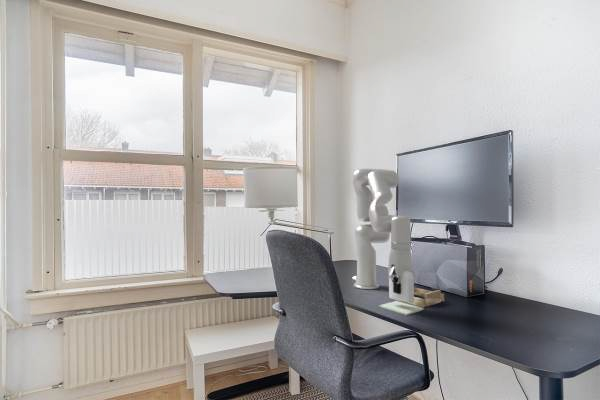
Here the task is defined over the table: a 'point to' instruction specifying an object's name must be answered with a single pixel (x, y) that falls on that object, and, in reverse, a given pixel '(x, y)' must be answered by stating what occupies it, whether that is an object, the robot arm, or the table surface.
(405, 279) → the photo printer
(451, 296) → the table surface
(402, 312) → the green mat
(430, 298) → the tray
